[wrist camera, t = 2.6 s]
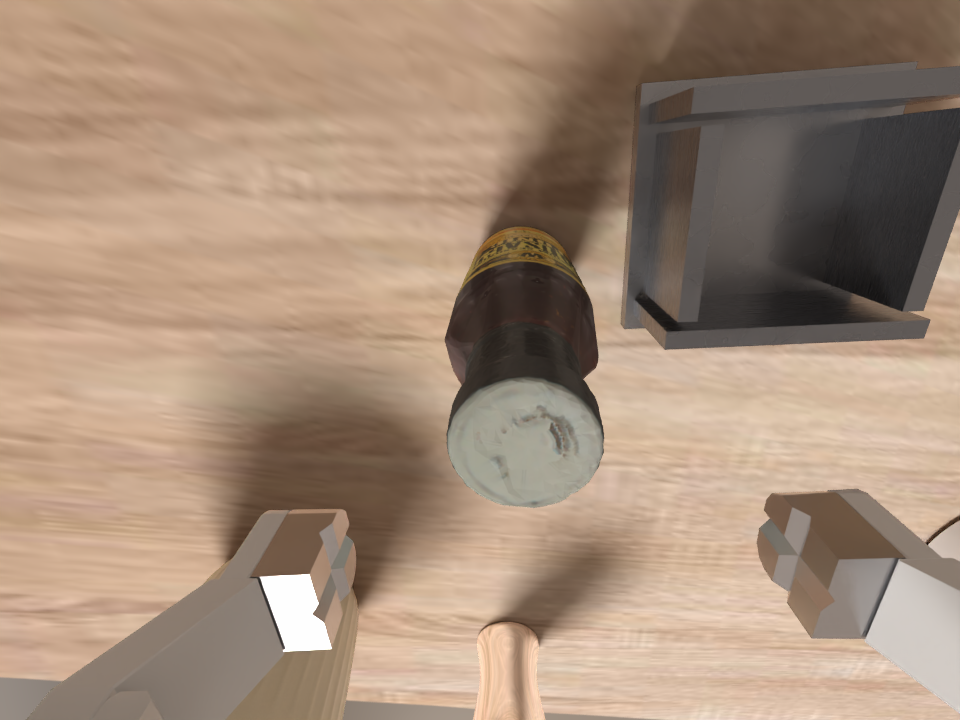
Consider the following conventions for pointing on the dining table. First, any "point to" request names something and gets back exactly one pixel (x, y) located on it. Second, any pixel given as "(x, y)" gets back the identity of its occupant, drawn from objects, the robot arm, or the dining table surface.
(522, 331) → the sauce bottle
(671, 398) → the dining table surface
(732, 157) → the square socket
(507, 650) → the beer glass
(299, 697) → the canister
